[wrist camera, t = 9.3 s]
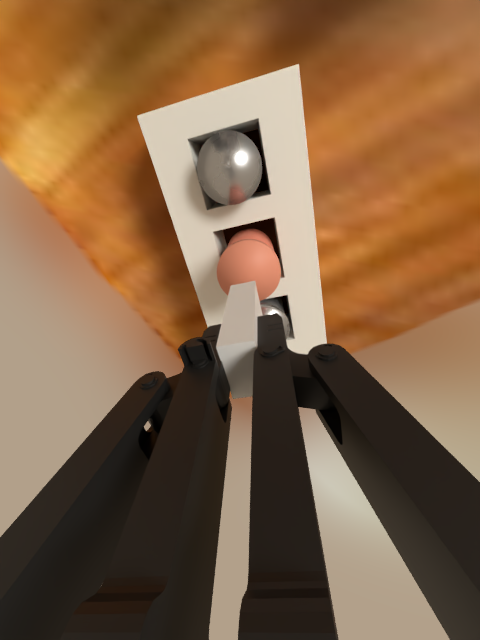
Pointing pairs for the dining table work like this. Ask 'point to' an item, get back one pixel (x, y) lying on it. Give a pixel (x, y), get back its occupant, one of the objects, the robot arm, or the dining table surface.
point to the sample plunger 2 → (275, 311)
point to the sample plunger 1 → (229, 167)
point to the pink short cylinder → (249, 263)
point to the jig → (277, 202)
